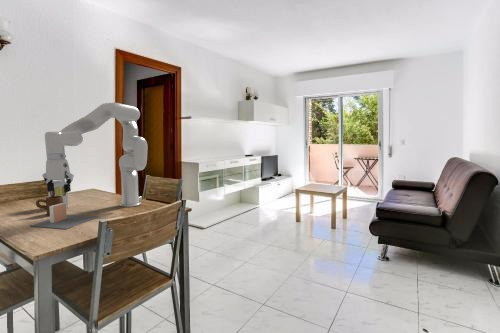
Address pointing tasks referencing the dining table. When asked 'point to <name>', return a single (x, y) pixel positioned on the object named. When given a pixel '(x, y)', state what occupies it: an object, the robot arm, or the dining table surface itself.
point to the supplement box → (59, 191)
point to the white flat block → (58, 212)
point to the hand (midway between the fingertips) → (59, 191)
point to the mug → (49, 202)
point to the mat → (65, 222)
